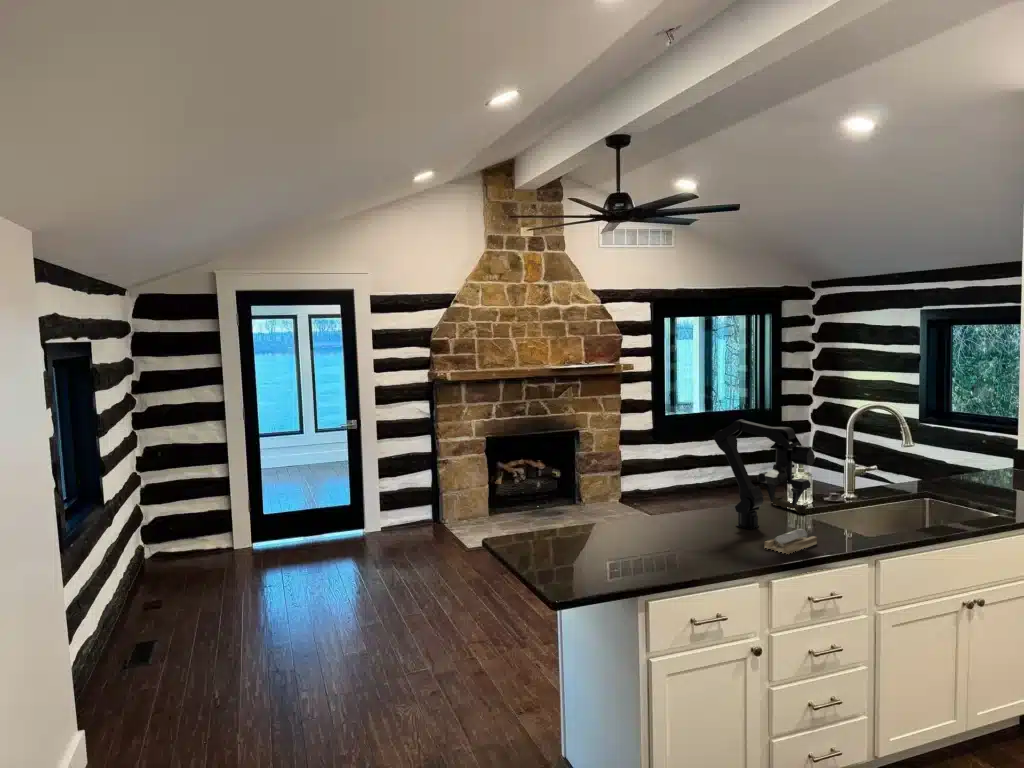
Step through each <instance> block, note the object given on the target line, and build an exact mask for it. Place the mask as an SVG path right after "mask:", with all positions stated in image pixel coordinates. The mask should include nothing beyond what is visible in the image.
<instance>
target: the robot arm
mask: <svg viewBox="0 0 1024 768" xmlns="http://www.w3.org/2000/svg"><path fill="white" fill-rule="evenodd" d="M742 432H744V433H748V434H751V435H755V436H760V437H764V438H767V439H769V440H770V441H771V442H774V443H773V444H772V445H771V446H770V447H769V449H772V450H775V463H774V464H773V466H772V469H771V470H769V471H764V472H759V474H758V475H757V482H760V484H761V485H763V486H764V487H765V489H766V491H767V494H768V496H769V497H768V498H769V499H770V502H771V501H773V500H774V496H775V494H776V486H778V485H779V484H780V483H783V484H786V485H791V489H790V490H791V492H792V501H791V502H792V503H793V506H795V505H796V504H798V502H799V499H800V497H801V496H802V494H803V493H804V491H806V490H807V489H811V481H810V480H809V479H805V478H797V479H795V475H793V468H795V464H796V465H803V466H809V467H812V465H813V464H814V463H815V458H816V456H815V454H814V453H815V452H814V451H813V447H812V446H808V445H807V446H804V445H802V443H801V441H800V440H799V439H798V437H797V435H796V432H795V430H794V428H792V427H789V426H770V425H765V424H762V423H756V422H753V421H748V420H745V419H737V420H734V421H733V422H732V423H731V424H729V425H727V426H726V427H724V428H723V429H720V430H717V431H715V433H714V435H713V440H714V442H715V444H716V445H717V447H718V448H719V449H720V450H721V451H722V452H723V453H724V455H725V457H726V459H727V461H728V463H729V464H728V465H730V468H731V470H732V474H733V475H734V478H735V480H736V482H737V484H738V487H739V496H738V497H739V500H740V501H739V502H738V503H737V504H736V505H735V506H734V508H735V512H736V513H737V514H738V515H737V518H738V519H737V520H738V521H737V523H738V524H735V527H737V528H741V527H742V528H741V529H745V528H747V529H746V530H753V529H756V528H759V527H760V524H759V516H758V511H759V510H760V508H761V506H762V505H763V503H764V496H765V495H764V494H763V492H762V489H761V487H760V486H759V485H757V486H756V485H754V484H753V482H752V481H751V478H750V476H749V473H748V471H747V468H746V466H745V464H744V462H743V459H742V457H741V454H740V452H739V451H738V438H737V437H738V436H739V435H741V433H742ZM793 463H794V464H793ZM758 526H759V527H758ZM755 527H756V528H755ZM752 528H753V529H752Z"/></svg>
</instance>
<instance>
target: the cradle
mask: <svg viewBox="0 0 1024 768" xmlns="http://www.w3.org/2000/svg"><path fill="white" fill-rule="evenodd" d="M774 539H775V537H773V538H771V539H768V540H766V541H764V549H765V548H767V549H766V550H768V549H771V550H770V551H772V550H774V551H773V552H776V551H778V552H777V553H780V552H782V553H781V554H784V553H786V554H785V555H787V554H788V555H790V553H791V554H794V553H796V552H799V551H801V549H802V550H804V548H805V549H807V548H810V547H813V546H815V545H818V543H817V542H818V541H817V540H818V537H817V536H814V535H812V536H809V537H807V538H806V539H803V540H801V541H798V542H795V543H792V544H789V545H787V546H784V547H782V548H779V547H777V546H776V545H775V542H774ZM795 551H796V552H795ZM793 552H794V553H793Z"/></svg>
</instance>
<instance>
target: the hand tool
mask: <svg viewBox="0 0 1024 768" xmlns="http://www.w3.org/2000/svg"><path fill="white" fill-rule="evenodd" d="M771 502H773V503H771ZM790 502H791V501H789V500H786V499H783V497H782V496H779V495H777V494H776V495H775V496H774V500H773V501H771V500H770V504H771V505H772V504H776V505H775V506H774V507H776V506H781V507H780V508H783V509H786V508H787V507H790V508H795V509H796V510H797V512H796V514H798V513H803V512H805V513H806V506H805V504H799V505H797V504H798V503H797V504H796V505H795V506H793V503H790Z"/></svg>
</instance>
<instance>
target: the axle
mask: <svg viewBox="0 0 1024 768" xmlns="http://www.w3.org/2000/svg"><path fill="white" fill-rule="evenodd" d="M774 538H775V539H774ZM774 538H773V539H774V542H775V545H776V546H777V547H779V548H782V547H784V546H787V545H789V544H792V543H795V542H798V541H801V540H803V539H806V538H808V532H807V531H806V530H805V529H804V528H798V529H794V530H792V531H789V532H786V533H785V532H784V533H783V534H781V535H778V536H776V537H774Z"/></svg>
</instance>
